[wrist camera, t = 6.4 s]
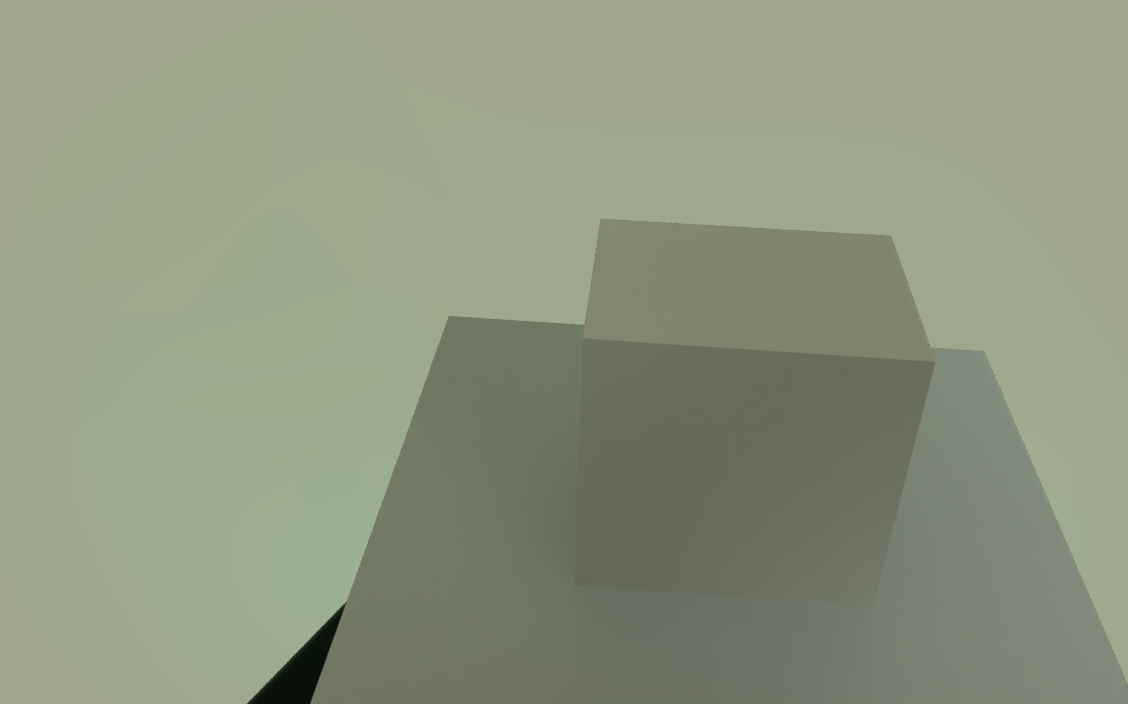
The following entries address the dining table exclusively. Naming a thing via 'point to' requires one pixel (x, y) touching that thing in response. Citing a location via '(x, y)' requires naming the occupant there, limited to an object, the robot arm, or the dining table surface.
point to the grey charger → (718, 501)
